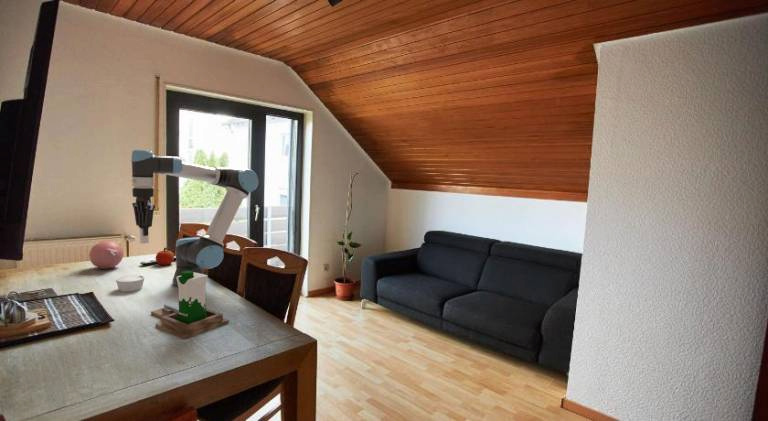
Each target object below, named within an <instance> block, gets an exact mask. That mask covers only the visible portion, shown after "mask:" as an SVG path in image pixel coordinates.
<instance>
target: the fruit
mask: <svg viewBox="0 0 768 421" xmlns="http://www.w3.org/2000/svg"><path fill="white" fill-rule="evenodd" d="M168 249H169V247H164V248H163V250H160V251H158V252H157V253H156V255H155V261H156V263H157V264H158V265H160V266H169V265H171V264H172V263H173V262H174V261H175V254H174V253H173V252H172V251H171V250H168Z"/></svg>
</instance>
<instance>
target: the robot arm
mask: <svg viewBox="0 0 768 421" xmlns="http://www.w3.org/2000/svg"><path fill="white" fill-rule="evenodd" d="M130 161H131V177H132V178H131V182H132V197H133V198H135V202H132V208H133V213H134V220H135V225H136V226H138V228H139V244H143V245H144V244H149V243H150V242H149V238H150V236H149V228H151V227H152V226H153V219H154V211H155V208H156V205H155V204H152V198H153V197H154V196H155V194H154V193H155V192H154V190H155V189H154V188H153V187H154V174H160V175H165V176H172V177H177V178H184V179H191V180H195V181H201V182H207V183H209V184H210V185H212V186H216V187H217V186H218V187H220V188H224V189H225V191H226V193H225V195H224V196H223V199H222V200H221V203H220V204H219V207H218V208H217V211H216V212H215V215H214V216H213V219H212V221H211V222H210V224H209V226H208V228H207V230H206V232H205V234H203V235H201V236H199V237H198V236H197V237H196V236H195V237H194V236H193V237H184V238H180V239H177V240H176V242H175V259H176V260H175V262H176V264H175V266H176V267H175V272H174V275H173V278H172V285H173V286H175V287H178V283H177V279H176V277H177V276H181V272H182V271H187V270H191V271H193V272H195V273H200V274H204V275H206V274H205V271H204V269H207V270H210V269H214V268H216V267H218V266H219V265H220V264H221V263H222V261H223V259H224V256H225V255H224V246H225V245H224V242H223V241H224V239H225V238H226V235H227V234H228V232H229V231H228V230H229V228H230V227H231V224H232V223H233V221H234V218H235V216H236V214H237V212H238V211H239V209H240V206H241V204H242V202H243V201H244V199H247V198H248V197H249V195H250V193H251V192H254V191H255V190H257V188H258V186H259V178H258V175H257V173H256V172H255V171H254V170H253V169H250V168H245V167H243V168H242V167H241V168H238V167H219V166H213V167H209V166H205V165H200V164H194V163H189V162H185V161H182V159H181V158H180V157H179V156H173V155H170V156H169V155H154V152H153V151H152V150H147V149H134V150H132V152H131V160H130Z"/></svg>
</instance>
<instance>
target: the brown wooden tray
mask: <svg viewBox="0 0 768 421" xmlns="http://www.w3.org/2000/svg"><path fill="white" fill-rule="evenodd" d="M177 304H179V302H178V303H177ZM150 314H151V315H152V316H155V317H157V318H160V319H161V321H160V322H157V323H155V328H157V329H159V330H161V331H162V330H163V331H164V332H166V333H168V334H171V335H173V336H176V337H179V338H180V339H183V340H187V339H190V338H193V337H194V336H195V337H196V336H198V335H201V334H203V333H206V332H208V331H211V330H213V329H216V328H219V327H221V326H223V325H227V324H229V323H230V322H229V321H230V320H229V319H228V318H225V317H224V314H223V313H221V312H218V311H215V310H212V309H210V308H207V307H206V315H207V318H205V319H202V320H199V321H196V322H193V323H190V324H185V323H183V322H180V321H178V313H173V314H172V310H170V309H168V308H164V307H162V308H158V309H155V310H151V311H150Z"/></svg>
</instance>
